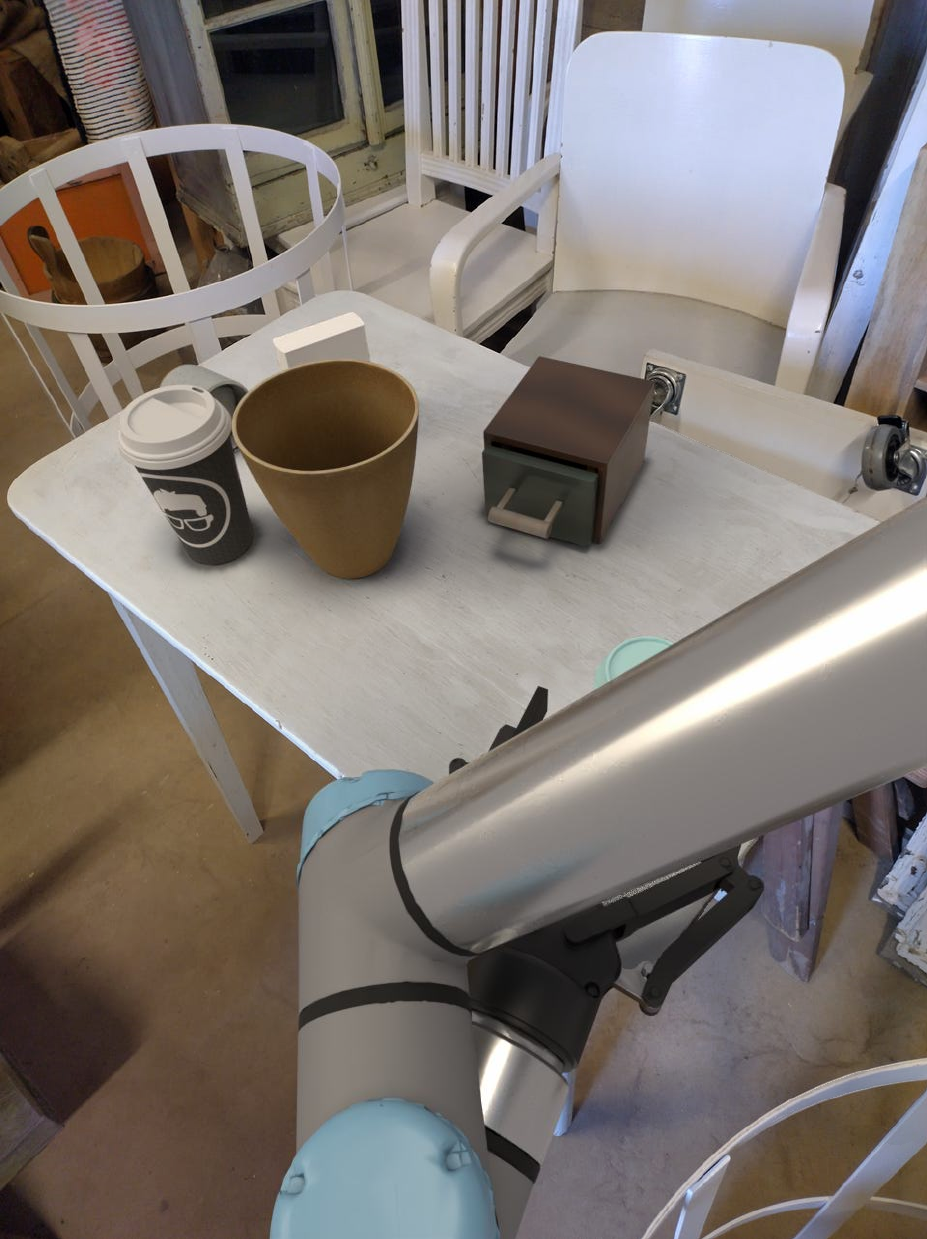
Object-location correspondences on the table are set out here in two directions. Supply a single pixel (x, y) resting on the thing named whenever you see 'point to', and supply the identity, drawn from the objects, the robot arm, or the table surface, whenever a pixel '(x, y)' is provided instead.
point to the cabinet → (580, 425)
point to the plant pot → (334, 458)
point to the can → (628, 657)
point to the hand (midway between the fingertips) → (636, 731)
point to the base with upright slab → (324, 342)
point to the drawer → (539, 493)
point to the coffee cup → (189, 468)
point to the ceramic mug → (209, 386)
